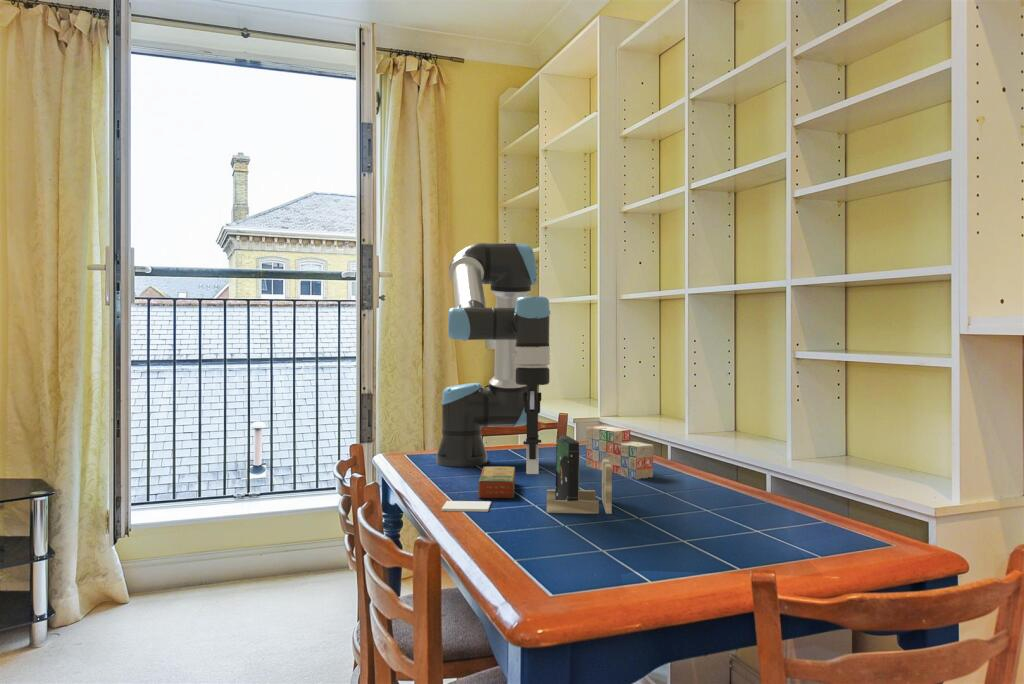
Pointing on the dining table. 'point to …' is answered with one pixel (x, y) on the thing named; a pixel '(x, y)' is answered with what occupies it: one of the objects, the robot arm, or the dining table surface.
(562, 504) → the wooden holder
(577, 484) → the disk drive
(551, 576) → the dining table surface
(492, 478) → the carton
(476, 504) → the pad
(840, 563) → the dining table surface
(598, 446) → the stack of blocks
